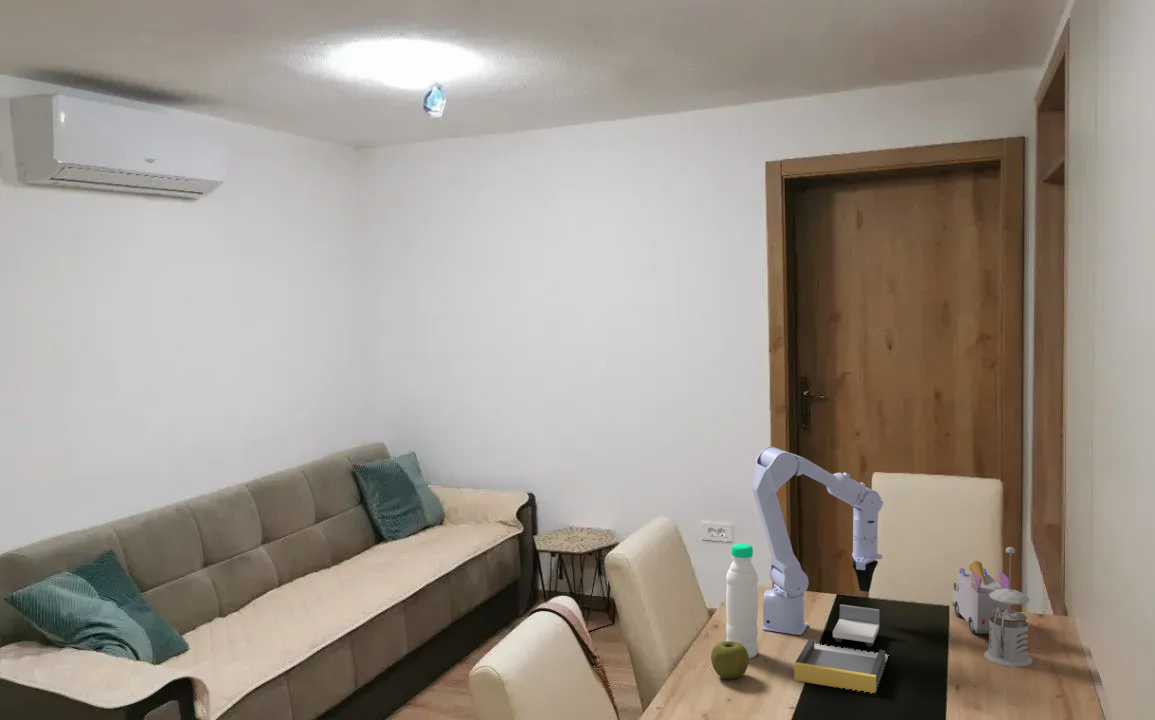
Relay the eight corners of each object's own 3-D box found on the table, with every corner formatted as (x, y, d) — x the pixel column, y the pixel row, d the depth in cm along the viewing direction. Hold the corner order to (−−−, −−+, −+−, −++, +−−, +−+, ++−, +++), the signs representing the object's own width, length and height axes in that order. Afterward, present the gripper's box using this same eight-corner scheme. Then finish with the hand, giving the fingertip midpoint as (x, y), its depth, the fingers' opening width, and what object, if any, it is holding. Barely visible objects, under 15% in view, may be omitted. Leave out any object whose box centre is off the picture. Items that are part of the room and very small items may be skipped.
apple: (704, 673, 199) (704, 641, 198) (736, 667, 202) (736, 635, 201) (723, 687, 192) (723, 653, 191) (755, 680, 195) (756, 647, 194)
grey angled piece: (832, 643, 214) (832, 617, 214) (840, 628, 223) (840, 604, 223) (872, 649, 211) (873, 623, 210) (879, 634, 220) (879, 609, 219)
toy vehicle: (986, 612, 233) (987, 554, 232) (1015, 642, 214) (1016, 578, 213) (948, 611, 234) (949, 553, 233) (973, 641, 215) (974, 578, 214)
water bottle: (761, 650, 211) (761, 543, 209) (753, 662, 204) (753, 551, 202) (730, 646, 214) (730, 539, 212) (722, 657, 207) (722, 547, 205)
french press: (1038, 656, 205) (1041, 546, 204) (1021, 673, 197) (1024, 558, 195) (992, 645, 212) (995, 538, 210) (973, 660, 204) (976, 549, 202)
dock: (794, 683, 195) (794, 664, 194) (815, 646, 215) (815, 628, 214) (875, 697, 188) (875, 677, 187) (889, 657, 208) (889, 639, 207)
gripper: (878, 545, 218) (877, 601, 219) (886, 530, 231) (885, 583, 232) (847, 542, 221) (847, 597, 222) (857, 527, 234) (856, 580, 235)
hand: (864, 590), depth 228 cm, fingers closed
